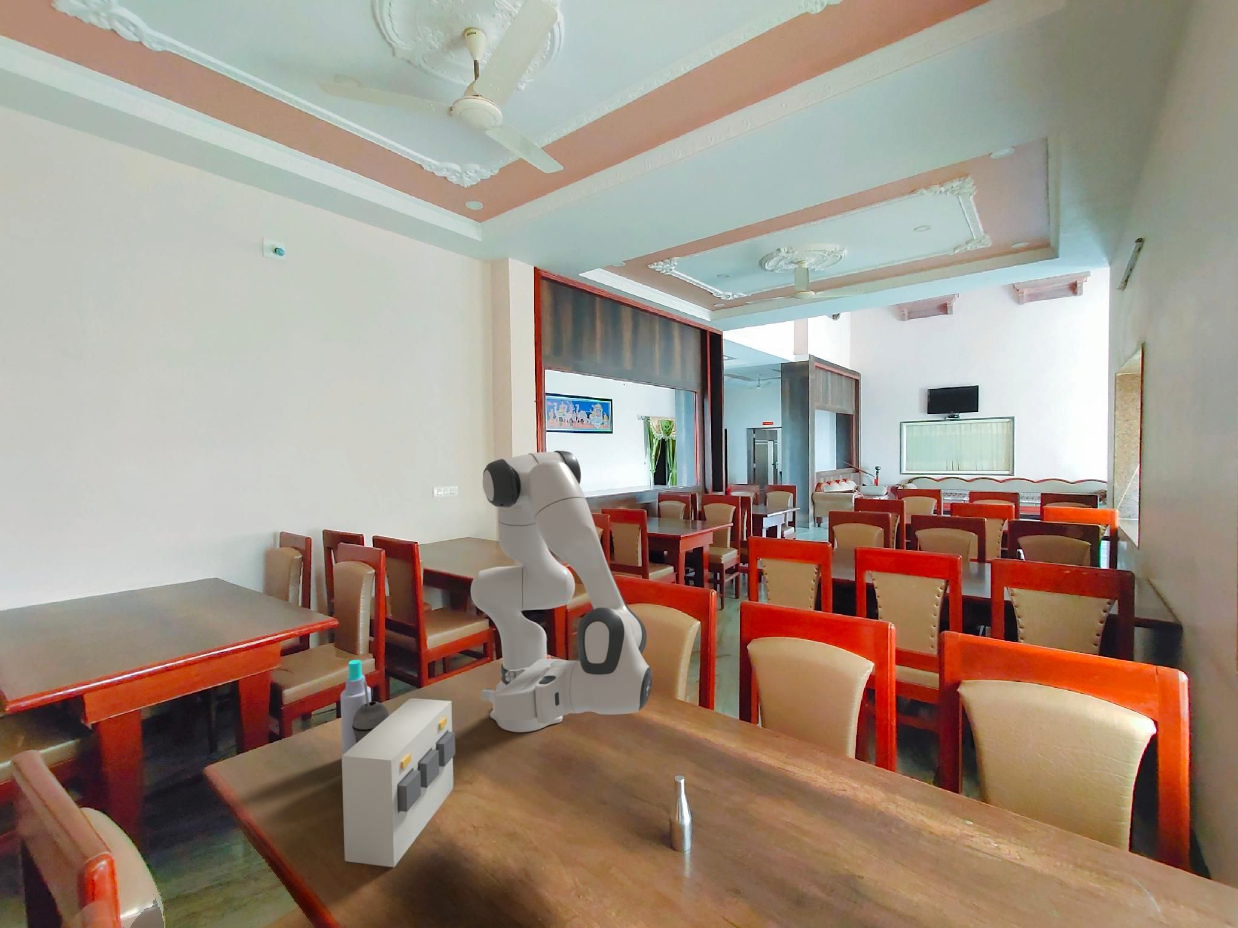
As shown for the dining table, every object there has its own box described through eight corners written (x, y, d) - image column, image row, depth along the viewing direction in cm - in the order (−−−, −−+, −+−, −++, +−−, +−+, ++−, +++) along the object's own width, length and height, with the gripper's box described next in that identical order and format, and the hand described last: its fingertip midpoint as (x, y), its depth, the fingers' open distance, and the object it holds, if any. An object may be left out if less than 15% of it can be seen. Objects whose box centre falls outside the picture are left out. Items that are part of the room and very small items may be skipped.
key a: (401, 793, 97) (400, 768, 96) (420, 795, 96) (420, 770, 96) (386, 809, 92) (386, 783, 92) (407, 811, 92) (406, 785, 91)
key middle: (420, 771, 103) (420, 748, 103) (439, 773, 102) (438, 750, 102) (408, 785, 99) (407, 761, 99) (427, 787, 98) (426, 763, 98)
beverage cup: (377, 788, 111) (374, 691, 111) (345, 784, 113) (342, 688, 112) (398, 767, 119) (396, 676, 118) (368, 763, 120) (365, 673, 119)
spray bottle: (336, 763, 120) (333, 665, 119) (358, 749, 126) (355, 655, 125) (356, 769, 118) (353, 668, 117) (378, 754, 124) (376, 658, 123)
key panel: (412, 784, 113) (410, 698, 112) (455, 788, 111) (453, 701, 110) (344, 860, 92) (341, 755, 91) (396, 867, 90) (393, 760, 90)
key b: (437, 752, 109) (437, 730, 109) (455, 753, 109) (454, 732, 109) (426, 764, 105) (426, 742, 105) (444, 766, 104) (444, 743, 104)
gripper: (581, 650, 110) (518, 650, 114) (539, 689, 90) (465, 687, 94) (583, 682, 110) (521, 680, 114) (542, 728, 90) (468, 725, 94)
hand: (495, 684), depth 104 cm, fingers open, 8 cm apart
